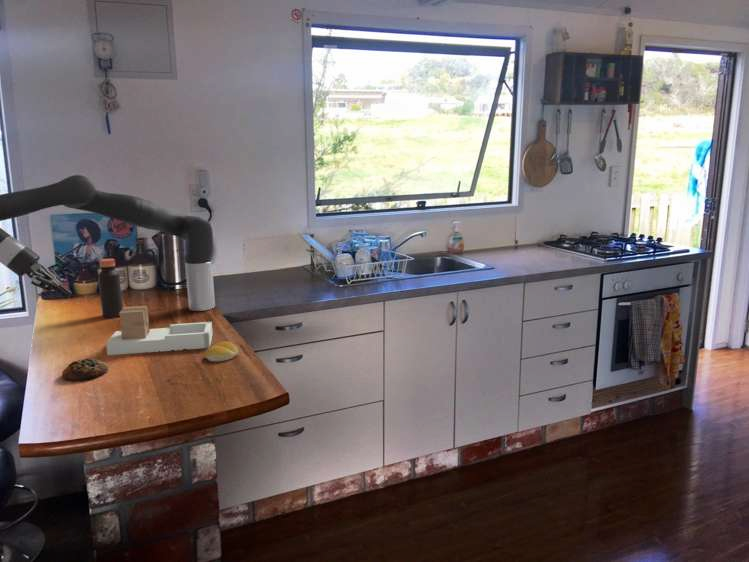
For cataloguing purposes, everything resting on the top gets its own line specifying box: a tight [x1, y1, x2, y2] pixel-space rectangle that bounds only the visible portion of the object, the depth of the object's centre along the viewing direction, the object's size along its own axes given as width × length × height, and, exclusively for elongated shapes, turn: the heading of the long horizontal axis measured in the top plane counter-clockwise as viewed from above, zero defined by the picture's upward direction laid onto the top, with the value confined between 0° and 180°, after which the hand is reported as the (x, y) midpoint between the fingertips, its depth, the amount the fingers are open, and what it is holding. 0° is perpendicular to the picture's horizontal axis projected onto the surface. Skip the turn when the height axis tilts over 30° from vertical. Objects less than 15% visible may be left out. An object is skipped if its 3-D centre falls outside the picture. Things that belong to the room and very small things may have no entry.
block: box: [119, 305, 150, 340], centre depth 181 cm, size 6×6×8 cm
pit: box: [165, 321, 214, 352], centre depth 184 cm, size 12×12×4 cm
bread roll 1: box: [61, 358, 109, 382], centre depth 161 cm, size 11×11×5 cm
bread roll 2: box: [204, 341, 239, 362], centre depth 172 cm, size 8×9×4 cm
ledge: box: [105, 327, 171, 356], centre depth 182 cm, size 12×16×4 cm
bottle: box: [97, 258, 124, 319], centre depth 214 cm, size 7×7×20 cm
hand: (69, 295), depth 175 cm, fingers closed
